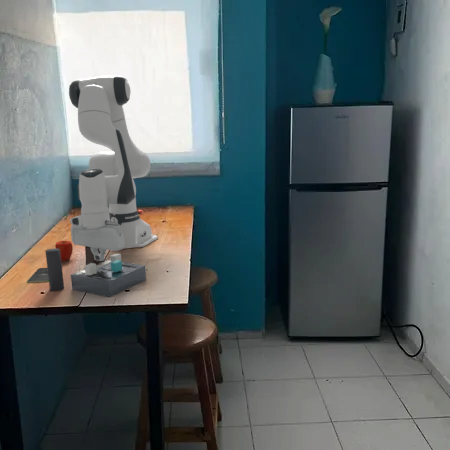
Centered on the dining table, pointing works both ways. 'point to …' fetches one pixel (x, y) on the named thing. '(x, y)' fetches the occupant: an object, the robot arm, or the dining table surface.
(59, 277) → the post
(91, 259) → the box
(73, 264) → the dining table surface
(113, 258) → the slider
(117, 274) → the panel
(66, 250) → the apple
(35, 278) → the smartphone
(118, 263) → the slider mid
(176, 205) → the dining table surface
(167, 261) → the dining table surface
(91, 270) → the slider
